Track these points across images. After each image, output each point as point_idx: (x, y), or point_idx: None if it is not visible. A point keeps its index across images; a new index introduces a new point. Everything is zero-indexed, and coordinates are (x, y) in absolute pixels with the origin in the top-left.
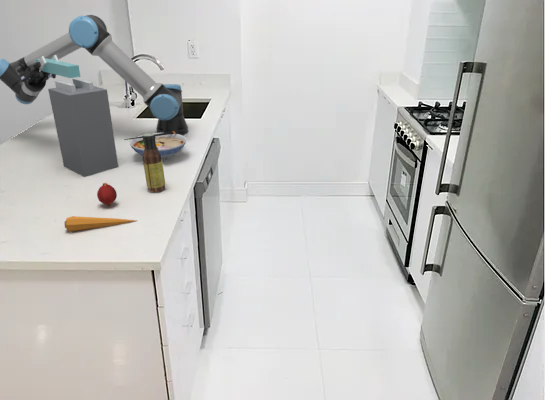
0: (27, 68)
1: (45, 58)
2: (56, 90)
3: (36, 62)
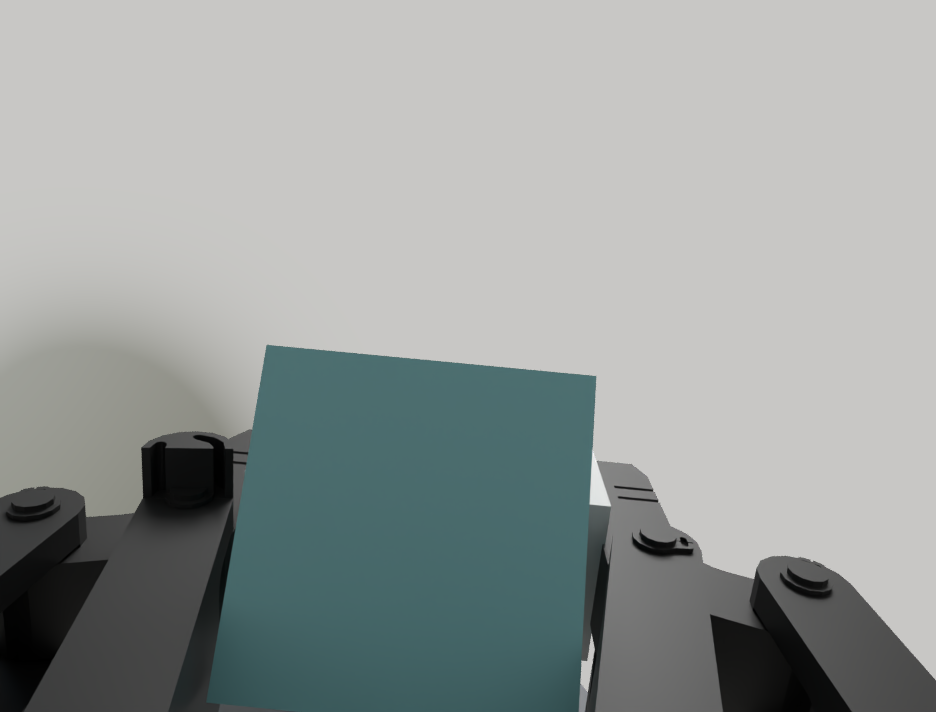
0: (899, 670)
1: (302, 357)
2: (584, 709)
3: (583, 476)
